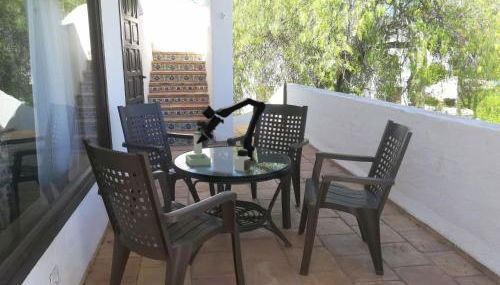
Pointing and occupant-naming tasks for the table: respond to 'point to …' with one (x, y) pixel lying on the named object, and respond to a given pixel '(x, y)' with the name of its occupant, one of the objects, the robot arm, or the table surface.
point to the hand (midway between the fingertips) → (195, 142)
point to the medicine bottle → (242, 161)
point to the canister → (196, 146)
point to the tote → (198, 160)
